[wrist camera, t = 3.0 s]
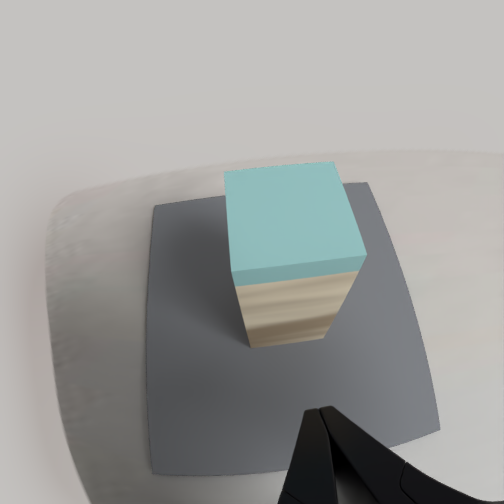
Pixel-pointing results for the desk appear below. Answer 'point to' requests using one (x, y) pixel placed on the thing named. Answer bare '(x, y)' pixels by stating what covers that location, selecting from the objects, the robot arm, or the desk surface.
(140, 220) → the desk surface
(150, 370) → the rubber mat
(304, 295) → the birch block
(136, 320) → the desk surface
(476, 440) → the desk surface
